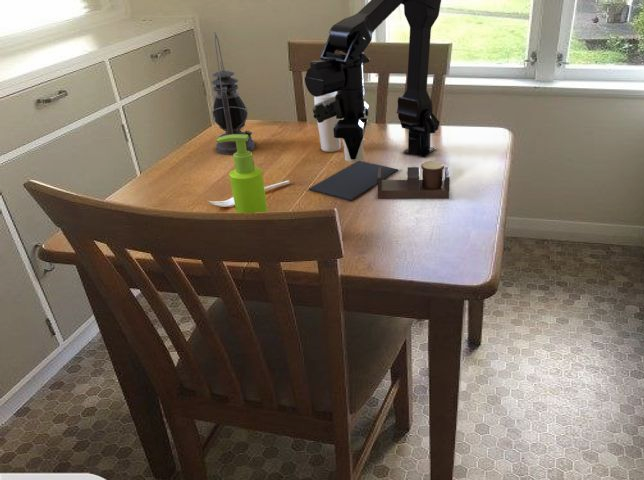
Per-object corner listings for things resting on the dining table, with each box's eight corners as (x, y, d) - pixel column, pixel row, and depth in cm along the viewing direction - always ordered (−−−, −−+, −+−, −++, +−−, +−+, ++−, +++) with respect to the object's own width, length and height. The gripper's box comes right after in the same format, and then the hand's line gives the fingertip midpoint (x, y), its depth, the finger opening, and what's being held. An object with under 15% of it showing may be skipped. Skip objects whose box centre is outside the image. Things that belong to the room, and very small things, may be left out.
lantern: (254, 154, 143) (235, 35, 128) (213, 157, 142) (190, 37, 127) (256, 139, 154) (239, 27, 138) (218, 141, 153) (197, 29, 137)
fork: (293, 185, 125) (293, 178, 124) (214, 212, 114) (213, 204, 113) (286, 181, 127) (285, 174, 126) (208, 207, 116) (206, 199, 115)
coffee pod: (351, 153, 127) (350, 134, 125) (369, 157, 125) (368, 137, 122) (339, 160, 124) (337, 140, 121) (356, 164, 121) (355, 144, 119)
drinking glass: (339, 154, 142) (335, 97, 134) (315, 153, 143) (310, 96, 135) (346, 145, 148) (342, 90, 140) (322, 144, 149) (318, 89, 141)
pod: (427, 178, 122) (428, 159, 119) (447, 183, 119) (448, 163, 117) (416, 186, 118) (417, 166, 116) (436, 191, 116) (437, 170, 113)
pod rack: (379, 187, 123) (378, 167, 120) (447, 187, 122) (448, 167, 120) (377, 198, 118) (377, 177, 115) (448, 198, 117) (449, 177, 114)
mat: (358, 162, 137) (358, 160, 137) (398, 170, 131) (398, 169, 131) (308, 190, 123) (308, 188, 122) (351, 201, 117) (351, 199, 117)
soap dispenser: (237, 228, 107) (219, 131, 97) (272, 226, 108) (258, 129, 97) (233, 242, 102) (213, 142, 92) (269, 240, 103) (254, 140, 92)
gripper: (319, 77, 124) (325, 142, 132) (306, 98, 108) (313, 171, 116) (367, 76, 123) (370, 141, 132) (361, 98, 108) (364, 170, 116)
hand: (354, 155), depth 124 cm, fingers closed on coffee pod, 4 cm apart
